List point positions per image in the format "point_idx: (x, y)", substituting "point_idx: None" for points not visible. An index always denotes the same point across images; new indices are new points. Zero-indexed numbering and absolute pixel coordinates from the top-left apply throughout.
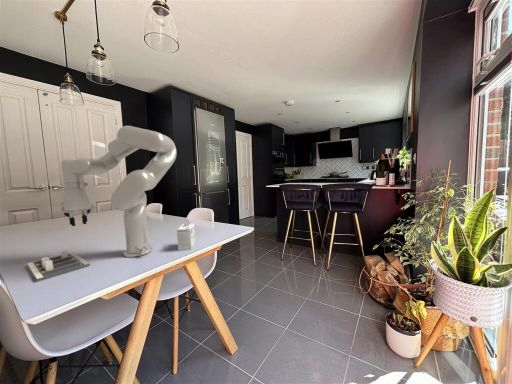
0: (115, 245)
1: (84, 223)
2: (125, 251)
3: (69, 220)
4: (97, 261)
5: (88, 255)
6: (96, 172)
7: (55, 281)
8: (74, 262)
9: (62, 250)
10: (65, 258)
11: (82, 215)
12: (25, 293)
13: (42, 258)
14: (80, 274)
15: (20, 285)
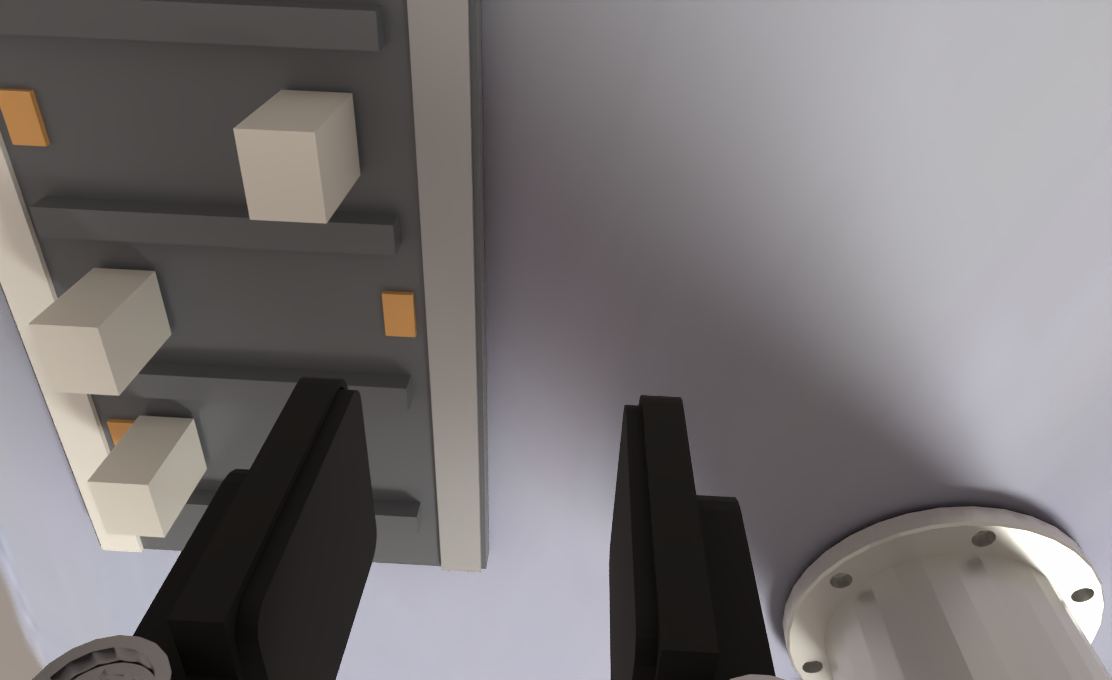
0: (1088, 68)
1: (610, 574)
2: (853, 570)
3: (176, 566)
4: (575, 507)
5: (598, 210)
6: None
7: None
8: (390, 424)
9: (263, 174)
10: (319, 248)
11: (672, 660)
12: (83, 643)
13: (43, 339)
14: (388, 645)
15: (12, 496)
